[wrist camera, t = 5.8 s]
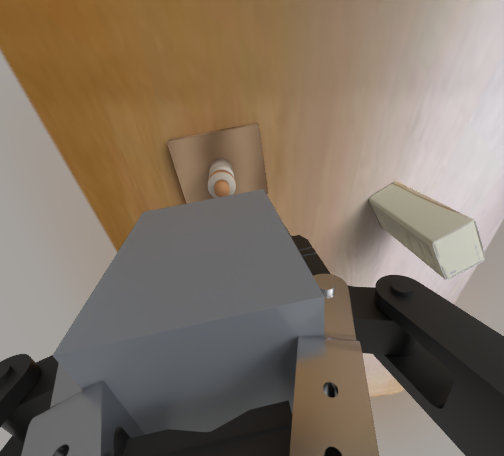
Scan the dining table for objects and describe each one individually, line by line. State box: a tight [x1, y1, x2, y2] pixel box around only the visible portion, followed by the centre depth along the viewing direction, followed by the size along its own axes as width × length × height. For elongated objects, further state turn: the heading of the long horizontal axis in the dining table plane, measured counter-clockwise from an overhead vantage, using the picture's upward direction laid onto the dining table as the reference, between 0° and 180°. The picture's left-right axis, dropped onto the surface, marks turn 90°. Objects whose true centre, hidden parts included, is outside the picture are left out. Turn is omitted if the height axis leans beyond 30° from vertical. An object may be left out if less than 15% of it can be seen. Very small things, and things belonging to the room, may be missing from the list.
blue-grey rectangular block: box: [52, 189, 325, 435], centre depth 9 cm, size 5×5×7 cm
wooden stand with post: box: [167, 123, 268, 204], centre depth 26 cm, size 10×8×9 cm
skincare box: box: [369, 181, 485, 280], centre depth 30 cm, size 6×4×12 cm
